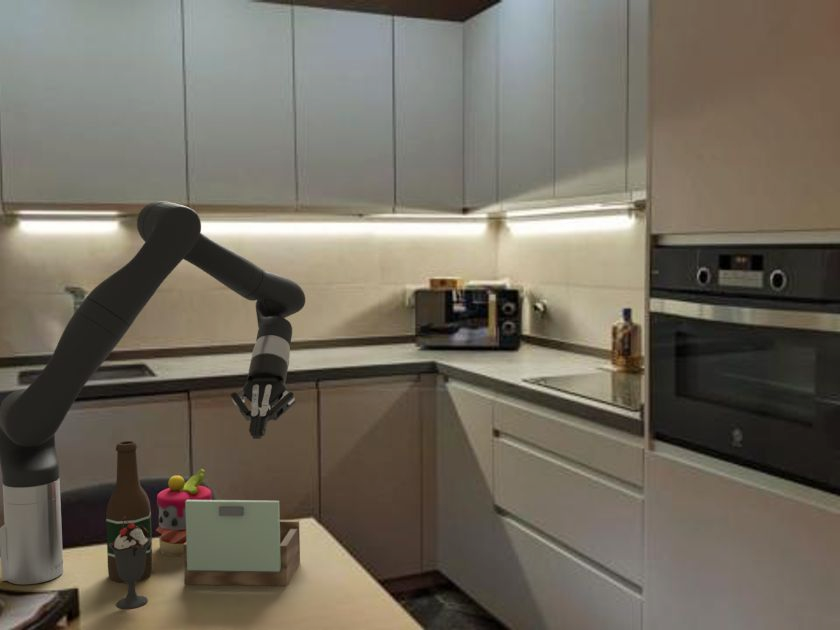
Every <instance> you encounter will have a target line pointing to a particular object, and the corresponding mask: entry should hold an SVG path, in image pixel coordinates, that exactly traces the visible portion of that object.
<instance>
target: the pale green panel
mask: <svg viewBox="0 0 840 630" xmlns="http://www.w3.org/2000/svg"><path fill="white" fill-rule="evenodd" d="M185 506H186V541H187V570H188V571H201V572H267V573H280V571H281V556H280V520H281V516H280V512H281V511H280V509H281V508H280V500H264V499H263V500H259V499H258V500H255V499H254V500H251V499H250V500H249V499H247V500H246V499H243V500H242V499H212V500H186V501H185Z"/></svg>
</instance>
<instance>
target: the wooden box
mask: <svg viewBox="0 0 840 630" xmlns="http://www.w3.org/2000/svg"><path fill="white" fill-rule="evenodd" d="M300 534H301V533H300V520H299V519H280V556H281V571H280V573H267V572H201V571H188V570H187V541H186V542H185V543H184V544H183V547H184V556H183V571H184V573H183V574H184V576H183V579H184V585H217V586H218V585H220V586H223V585H224V586H225V585H226V586H229V585H230V586H233V585H234V586H238V585H239V586H278V587H279V586H280V587H281V586H283V587H285V586H286V587H287V586H288V585H289V583H290V581H291V579H292V578H293V576H294V575H295V572H296V571H297V569H298V567H299V565H300V564H301V550H300V549H301V548H300V547H301V546H300V544H301V543H300V542H301V541H300Z"/></svg>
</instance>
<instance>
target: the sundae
mask: <svg viewBox="0 0 840 630" xmlns="http://www.w3.org/2000/svg"><path fill="white" fill-rule="evenodd" d="M122 520H126V517H124V518H122ZM126 522H127V523H128V524H129V525H128V526H127V527H125V528H124V521H123V528H122V530H121V531H120V535H119V536H118V537H117V538H116V540H115V541H114V542H112V543H110V544H109V547H110V548H111V549H113V551H114V555H115V561H116V567H117V571H118V575H119V577H120V578H121V579H122V580H123V581H125V582H124V583H126V584H127V594H126V595H125V597H122V598H120V599H119V600H117V602H116V603H115V605H116V607H118V608H120V609H124V610H125V609H129V610H130V609H136V608H139V607H142V606H144V605H146V604H147V603H148V601H149V599H148V598H147V597H145V596H143V595H138V594H137V592H136V591H137V590H136V583H137V582H138V581H137V580H138V579H140V577H141V576H142V575H143V573H144V568H145V560H146V551H147V547H148V546H149V545H150V543H151V539H150V538H146V537H147V535H148V531H147V530H146V529H145V528H144V527H143V526H142V525H139V527H138V526H135V525H134V524H133V523H129V522H128V521H126Z"/></svg>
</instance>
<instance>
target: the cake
mask: <svg viewBox="0 0 840 630" xmlns="http://www.w3.org/2000/svg"><path fill="white" fill-rule="evenodd" d="M205 473H206V472H205V469H203V468H200V469H199V470H198V471H197V472H196V473H195V475H192V476H190V478H189V479H188V480H187V481H186V482H185V479H184V478H183V476H181V475H172V476H171V477H170V478H169V479H168V482H167V483H168V487H167V488H165V489H163V490H161V491H160V492H159V493H157V496H156V507H157V510H156V514H157V515H158V527H157V528H156V529H155V531H156V532H158V533H159V534H161V535H160V536H159V538H158V539H159V551H160V553H162V554H163V555H166V556H167V555H168V556H177V557H178V556H179V557H180V556H182V557H184V547H183V544H184V543H185V542H186V506H185V501H186V500H213V497H212V491H211V489H210V488H208V487H206V486H203V485H201V484H202V482H203V479H204V475H205Z"/></svg>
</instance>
